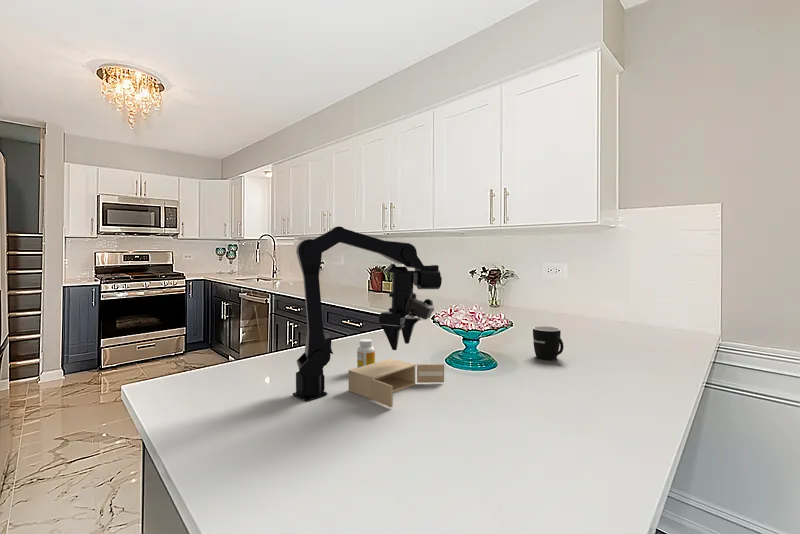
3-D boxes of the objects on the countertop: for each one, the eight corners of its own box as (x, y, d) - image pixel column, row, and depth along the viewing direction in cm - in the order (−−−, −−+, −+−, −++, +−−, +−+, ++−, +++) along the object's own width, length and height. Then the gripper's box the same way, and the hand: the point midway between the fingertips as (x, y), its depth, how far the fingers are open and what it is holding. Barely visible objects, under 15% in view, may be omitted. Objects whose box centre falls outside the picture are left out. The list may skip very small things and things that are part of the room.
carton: (373, 399, 105) (373, 377, 104) (348, 390, 111) (348, 370, 111) (415, 384, 116) (415, 364, 116) (390, 377, 123) (390, 358, 123)
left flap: (371, 399, 104) (371, 379, 104) (373, 398, 104) (372, 378, 104) (391, 407, 98) (391, 386, 98) (393, 406, 99) (392, 385, 98)
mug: (527, 356, 147) (527, 327, 147) (547, 353, 151) (547, 325, 150) (551, 364, 136) (551, 333, 136) (572, 361, 139) (573, 331, 139)
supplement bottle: (376, 369, 131) (376, 338, 131) (373, 374, 126) (373, 342, 125) (359, 369, 131) (359, 338, 131) (355, 374, 126) (355, 341, 126)
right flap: (443, 381, 117) (443, 364, 117) (444, 382, 117) (444, 364, 116) (416, 382, 117) (416, 364, 117) (417, 382, 116) (417, 364, 116)
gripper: (419, 293, 103) (417, 357, 103) (441, 289, 120) (439, 343, 120) (377, 291, 107) (376, 352, 107) (404, 286, 124) (402, 339, 125)
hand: (400, 346), depth 115 cm, fingers open, 9 cm apart
